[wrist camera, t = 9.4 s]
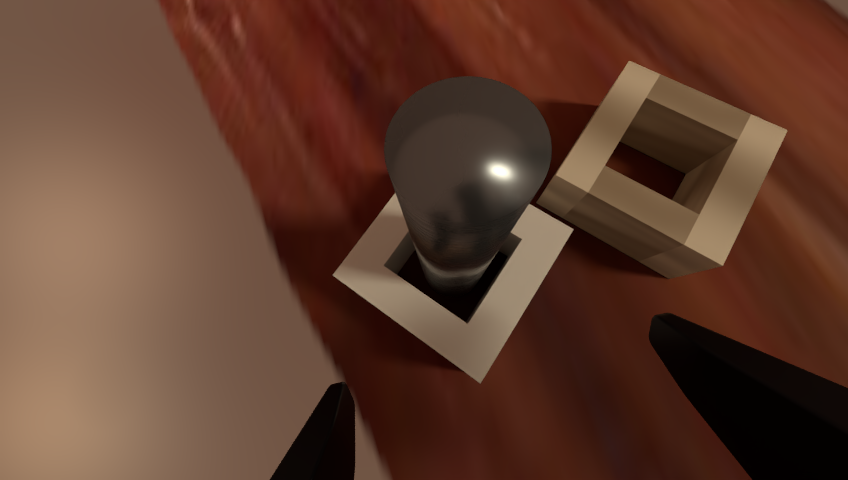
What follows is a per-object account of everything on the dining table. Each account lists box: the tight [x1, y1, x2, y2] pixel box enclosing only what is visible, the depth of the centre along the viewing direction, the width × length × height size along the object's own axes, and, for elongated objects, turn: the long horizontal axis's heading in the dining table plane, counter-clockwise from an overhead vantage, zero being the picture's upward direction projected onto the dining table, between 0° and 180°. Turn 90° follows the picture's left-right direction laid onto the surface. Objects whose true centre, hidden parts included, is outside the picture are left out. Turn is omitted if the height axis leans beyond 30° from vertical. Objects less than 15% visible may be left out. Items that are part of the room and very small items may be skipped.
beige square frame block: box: [536, 61, 788, 279], centre depth 17 cm, size 8×8×4 cm
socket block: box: [333, 193, 574, 384], centre depth 17 cm, size 8×8×4 cm
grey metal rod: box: [384, 76, 552, 297], centre depth 12 cm, size 3×3×12 cm
